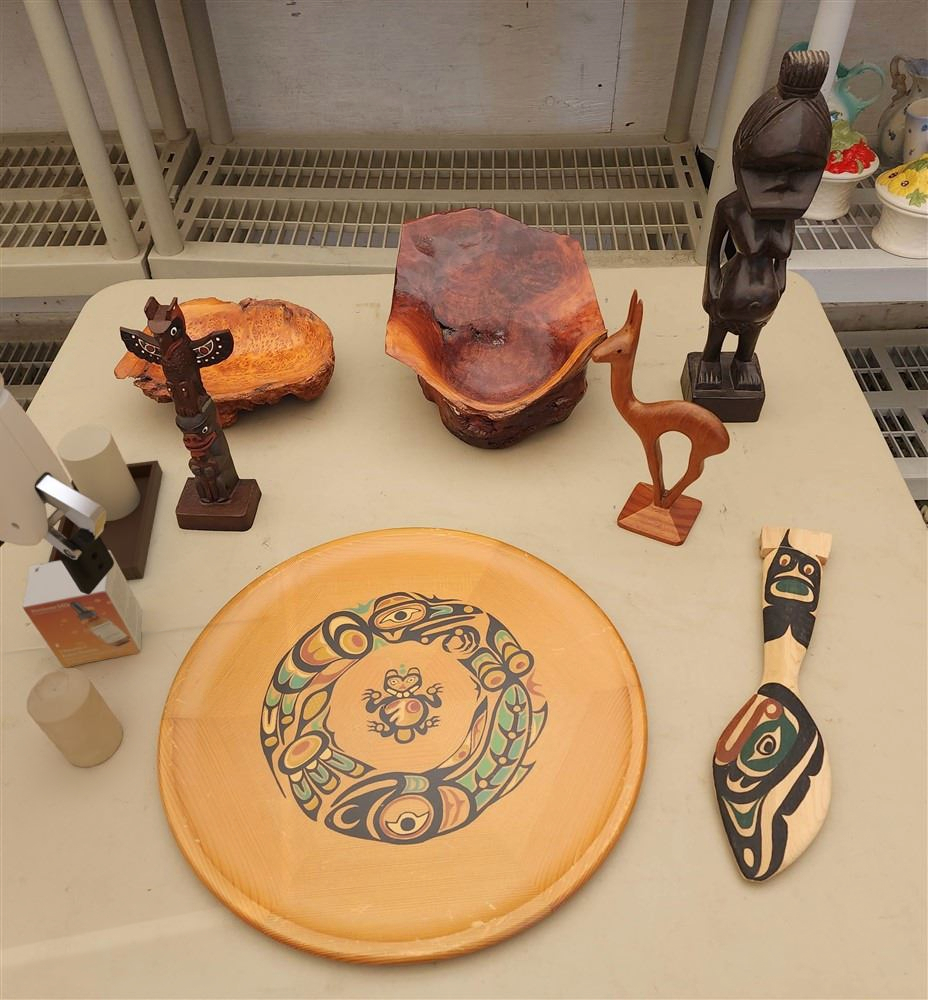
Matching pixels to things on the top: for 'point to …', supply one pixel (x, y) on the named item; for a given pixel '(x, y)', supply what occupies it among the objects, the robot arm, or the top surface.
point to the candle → (75, 717)
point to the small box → (83, 614)
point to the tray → (127, 524)
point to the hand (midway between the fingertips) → (46, 562)
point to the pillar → (99, 470)
